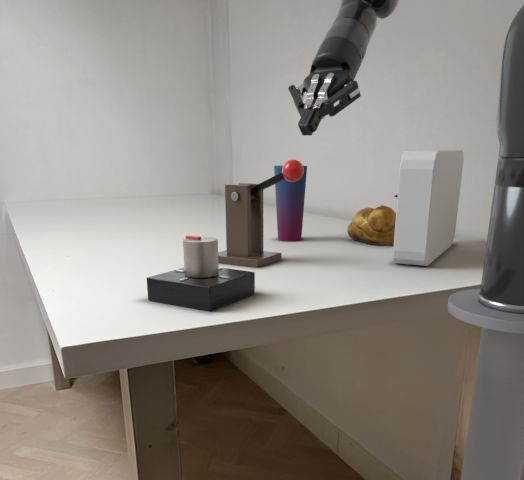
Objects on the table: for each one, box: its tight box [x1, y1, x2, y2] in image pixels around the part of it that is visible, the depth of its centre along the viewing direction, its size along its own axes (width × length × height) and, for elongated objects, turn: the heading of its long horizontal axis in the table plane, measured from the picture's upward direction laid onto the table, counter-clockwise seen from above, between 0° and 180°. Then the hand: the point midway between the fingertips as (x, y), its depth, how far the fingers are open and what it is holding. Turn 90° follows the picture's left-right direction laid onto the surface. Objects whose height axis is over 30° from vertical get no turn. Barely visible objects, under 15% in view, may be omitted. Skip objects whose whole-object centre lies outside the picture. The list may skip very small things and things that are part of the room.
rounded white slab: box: [392, 149, 464, 267], centre depth 100 cm, size 29×8×18 cm, turn 153°
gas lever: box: [251, 158, 304, 201], centre depth 89 cm, size 13×3×3 cm, turn 59°
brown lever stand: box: [218, 182, 283, 268], centre depth 94 cm, size 10×8×13 cm
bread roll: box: [346, 204, 396, 246], centre depth 114 cm, size 13×10×8 cm
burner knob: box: [182, 234, 220, 278], centre depth 71 cm, size 4×4×5 cm
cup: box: [273, 164, 308, 242], centre depth 116 cm, size 7×7×15 cm
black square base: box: [146, 267, 256, 312], centre depth 72 cm, size 10×10×3 cm
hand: (305, 131), depth 88 cm, fingers closed
